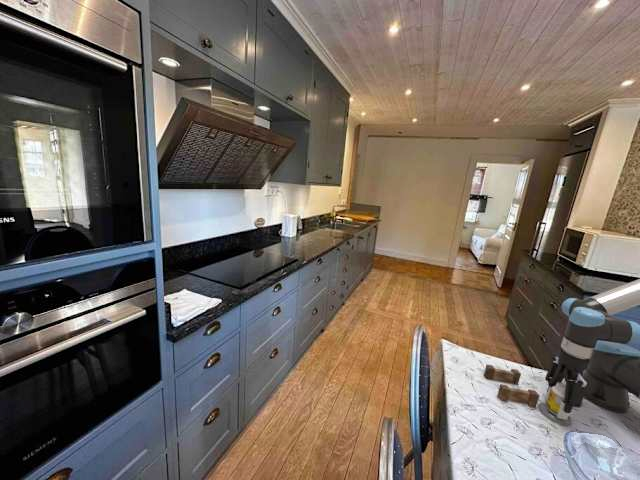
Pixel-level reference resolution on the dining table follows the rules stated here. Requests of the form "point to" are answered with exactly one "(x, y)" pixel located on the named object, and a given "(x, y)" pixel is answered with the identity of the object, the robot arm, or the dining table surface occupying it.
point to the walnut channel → (511, 393)
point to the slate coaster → (553, 415)
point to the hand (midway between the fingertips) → (555, 410)
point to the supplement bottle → (556, 397)
